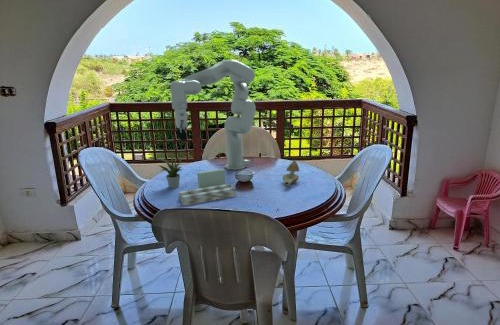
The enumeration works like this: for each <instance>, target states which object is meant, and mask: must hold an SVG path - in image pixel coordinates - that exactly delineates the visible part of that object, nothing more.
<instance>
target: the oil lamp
mask: <svg viewBox="0 0 500 325" xmlns="http://www.w3.org/2000/svg"><path fill="white" fill-rule="evenodd" d="M286 171H287V172H290V173H287V174H283V175H282V181H283V185H284V186H285V187H289V186H290V185H292V184H295V183H297V181H298V180H299V178H300V177H299V175H297V174H296V173H295V172H300V167H299V165H298V163H297V161H296V159H293V161H292V162H290V164H288V167H287V168H286Z"/></svg>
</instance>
